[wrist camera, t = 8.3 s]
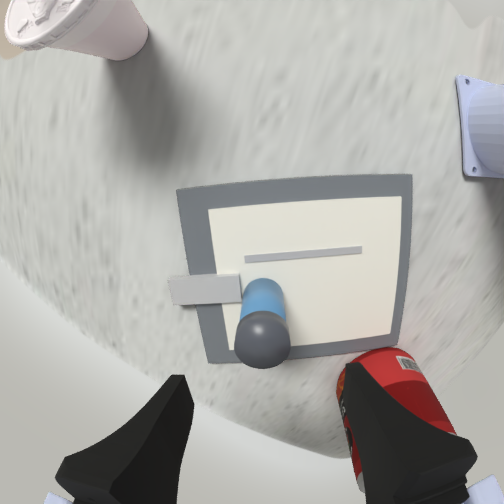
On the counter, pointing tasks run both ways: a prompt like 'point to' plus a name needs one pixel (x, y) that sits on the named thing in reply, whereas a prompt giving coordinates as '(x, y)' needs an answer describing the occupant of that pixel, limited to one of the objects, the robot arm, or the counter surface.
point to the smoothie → (77, 26)
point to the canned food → (395, 393)
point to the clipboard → (300, 258)
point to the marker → (262, 326)
